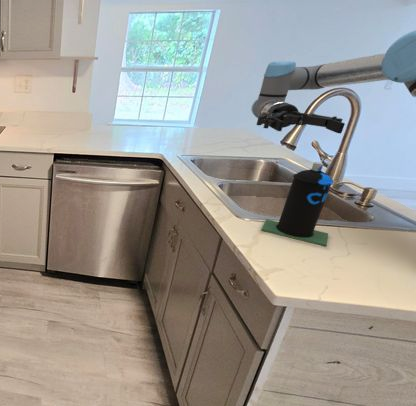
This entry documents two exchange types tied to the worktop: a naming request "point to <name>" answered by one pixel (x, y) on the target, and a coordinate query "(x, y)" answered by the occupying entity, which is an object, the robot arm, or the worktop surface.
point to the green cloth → (317, 238)
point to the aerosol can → (305, 202)
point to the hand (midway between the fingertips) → (310, 127)
